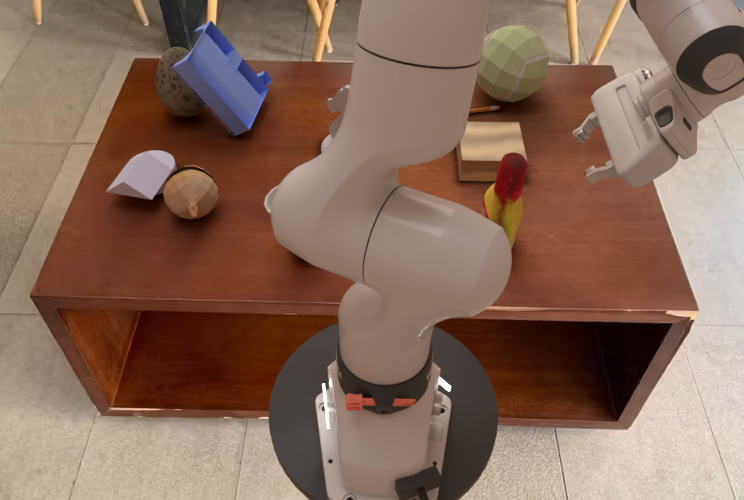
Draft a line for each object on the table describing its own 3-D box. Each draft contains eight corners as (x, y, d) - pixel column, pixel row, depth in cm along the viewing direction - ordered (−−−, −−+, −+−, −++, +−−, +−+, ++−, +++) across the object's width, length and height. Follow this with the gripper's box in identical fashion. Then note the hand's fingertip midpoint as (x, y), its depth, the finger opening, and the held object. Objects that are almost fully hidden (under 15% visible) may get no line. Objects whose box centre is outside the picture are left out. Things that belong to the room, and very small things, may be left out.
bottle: (513, 274, 111) (535, 182, 97) (475, 269, 112) (490, 178, 98) (514, 224, 120) (534, 132, 105) (478, 220, 120) (493, 128, 106)
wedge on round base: (156, 213, 121) (186, 167, 130) (146, 185, 116) (178, 139, 125) (111, 205, 123) (143, 160, 131) (99, 177, 118) (134, 133, 127)
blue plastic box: (249, 129, 134) (224, 140, 138) (273, 79, 144) (248, 90, 148) (186, 60, 124) (161, 73, 128) (217, 10, 134) (192, 24, 138)
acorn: (197, 146, 122) (191, 171, 108) (230, 185, 126) (227, 214, 112) (156, 175, 123) (145, 203, 109) (190, 213, 127) (182, 245, 113)
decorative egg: (217, 124, 140) (204, 59, 129) (163, 131, 138) (146, 66, 127) (213, 95, 147) (200, 31, 136) (162, 101, 145) (146, 37, 134)
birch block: (523, 181, 127) (527, 161, 124) (459, 180, 128) (462, 160, 124) (515, 142, 136) (519, 122, 132) (455, 141, 136) (457, 121, 132)
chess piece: (342, 128, 139) (339, 64, 128) (380, 146, 135) (381, 81, 124) (310, 152, 133) (305, 87, 123) (349, 172, 129) (347, 106, 118)
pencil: (498, 105, 144) (411, 116, 141) (499, 104, 143) (412, 115, 140) (498, 109, 144) (412, 120, 141) (500, 109, 143) (413, 120, 140)
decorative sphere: (535, 60, 129) (503, 122, 139) (573, 45, 138) (541, 104, 148) (477, 18, 134) (450, 82, 144) (518, 7, 143) (490, 67, 154)
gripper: (637, 50, 100) (557, 105, 107) (677, 134, 86) (582, 190, 93) (658, 77, 103) (579, 128, 110) (699, 162, 89) (606, 215, 96)
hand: (580, 157), depth 101 cm, fingers open, 8 cm apart
